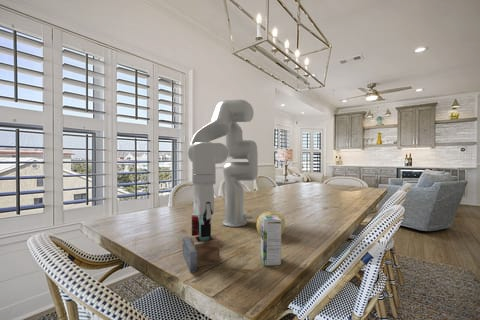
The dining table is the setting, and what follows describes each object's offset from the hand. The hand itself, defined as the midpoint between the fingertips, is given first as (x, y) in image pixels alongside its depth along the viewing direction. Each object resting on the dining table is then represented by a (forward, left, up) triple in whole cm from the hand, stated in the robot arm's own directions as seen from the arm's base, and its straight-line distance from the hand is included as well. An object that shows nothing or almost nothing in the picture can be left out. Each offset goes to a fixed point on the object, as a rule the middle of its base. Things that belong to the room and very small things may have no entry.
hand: (204, 234), depth 77 cm
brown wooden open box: (0, 0, -8) cm, 8 cm away
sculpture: (-31, -11, -9) cm, 34 cm away
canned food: (-3, -19, -9) cm, 21 cm away
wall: (+5, 0, -8) cm, 10 cm away
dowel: (0, 0, -3) cm, 3 cm away
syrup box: (-19, +10, -9) cm, 24 cm away
